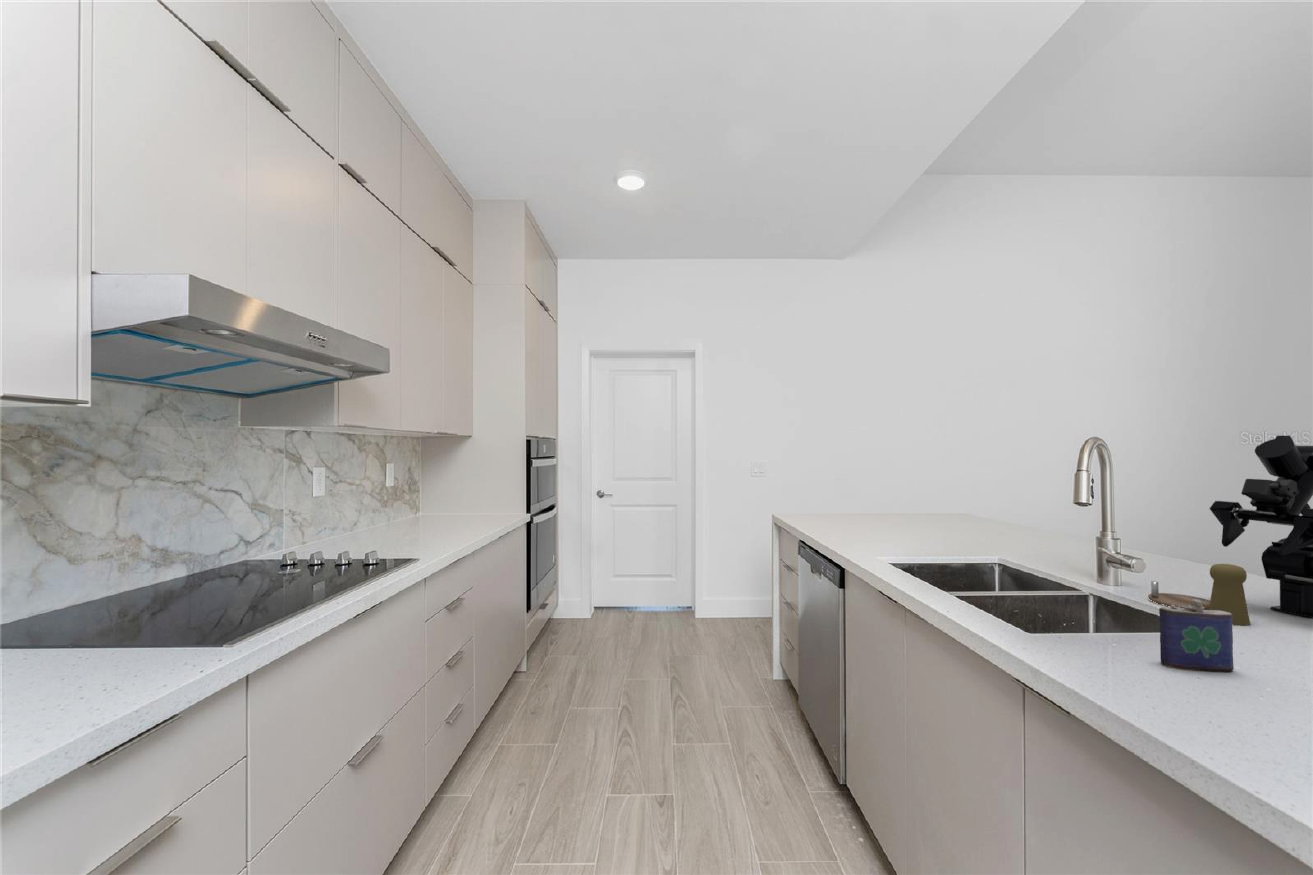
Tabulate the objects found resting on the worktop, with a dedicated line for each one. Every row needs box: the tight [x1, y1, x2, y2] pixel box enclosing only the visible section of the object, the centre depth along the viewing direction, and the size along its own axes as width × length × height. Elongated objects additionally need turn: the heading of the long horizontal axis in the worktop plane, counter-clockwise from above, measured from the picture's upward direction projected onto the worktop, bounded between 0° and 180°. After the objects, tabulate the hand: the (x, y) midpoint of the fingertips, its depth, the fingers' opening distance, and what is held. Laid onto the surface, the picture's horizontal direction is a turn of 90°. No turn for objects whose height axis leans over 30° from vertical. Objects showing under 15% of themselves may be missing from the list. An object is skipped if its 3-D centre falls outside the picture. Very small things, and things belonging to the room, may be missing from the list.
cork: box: [1209, 563, 1251, 627], centre depth 114 cm, size 6×6×11 cm
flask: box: [1158, 599, 1235, 673], centre depth 91 cm, size 9×3×11 cm, turn 74°
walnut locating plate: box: [1147, 580, 1210, 610], centre depth 126 cm, size 11×11×4 cm
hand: (1251, 549), depth 115 cm, fingers open, 9 cm apart
